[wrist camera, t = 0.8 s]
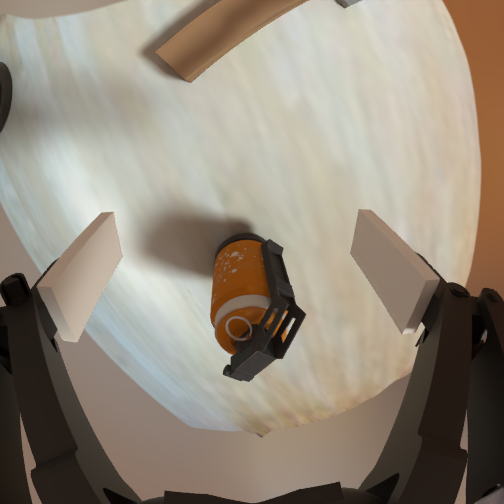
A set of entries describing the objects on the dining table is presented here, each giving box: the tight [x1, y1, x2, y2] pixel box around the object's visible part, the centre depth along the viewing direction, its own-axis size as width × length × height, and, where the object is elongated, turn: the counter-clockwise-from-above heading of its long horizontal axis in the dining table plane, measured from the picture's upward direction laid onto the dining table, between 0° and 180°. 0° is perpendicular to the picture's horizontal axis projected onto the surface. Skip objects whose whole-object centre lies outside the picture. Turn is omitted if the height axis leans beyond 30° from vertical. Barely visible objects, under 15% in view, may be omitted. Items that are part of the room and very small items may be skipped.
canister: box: [210, 234, 306, 382], centre depth 33 cm, size 9×11×20 cm
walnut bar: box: [155, 0, 308, 83], centre depth 23 cm, size 5×20×5 cm, turn 130°
